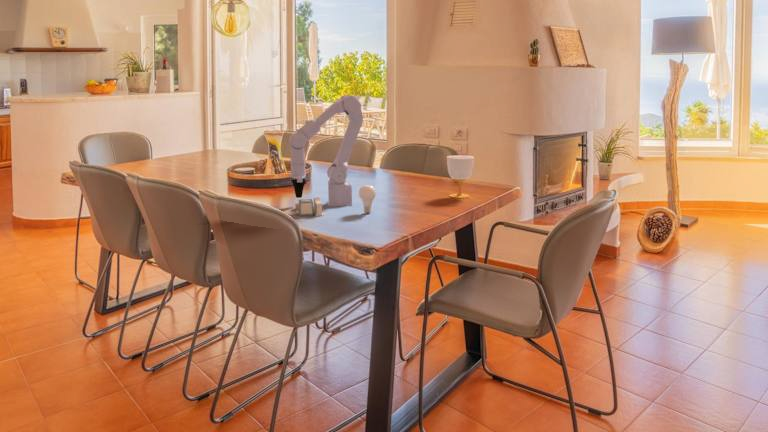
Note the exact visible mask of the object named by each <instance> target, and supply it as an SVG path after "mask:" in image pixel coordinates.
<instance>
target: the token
mask: <svg viewBox="0 0 768 432" xmlns="http://www.w3.org/2000/svg"><path fill="white" fill-rule="evenodd" d="M294 204H295V205H294V206H295V207H294V208H295V209H296V210H299V202H298V203H294ZM295 209H294V210H295ZM296 210H295V211H296Z"/></svg>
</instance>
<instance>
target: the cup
mask: <svg viewBox="0 0 768 432" xmlns="http://www.w3.org/2000/svg"><path fill="white" fill-rule="evenodd" d="M474 164H475V156H473V155H466V154H465V155H462V154H461V155H458V154H456V155H447V156H446V167H447V173H448V175H449V177H450V178H451V179H452V180H454V181H456V182H457V183H458V192H457V193H450V194H449V195H448V197H450V198H454V199H467V198H466V197H468V198H470V197H471V195H470V194H467V193H462V190H461V189H462V182H464V181H466V180H468V179H469V178H470V177H471V176H472V175H473V170H474ZM469 196H470V197H469Z"/></svg>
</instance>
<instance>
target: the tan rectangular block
mask: <svg viewBox="0 0 768 432" xmlns="http://www.w3.org/2000/svg"><path fill="white" fill-rule="evenodd" d="M313 215H314V217H324V216H325V215H324V213H323V203H322V200H321V199H320V198H319V197H313Z"/></svg>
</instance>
